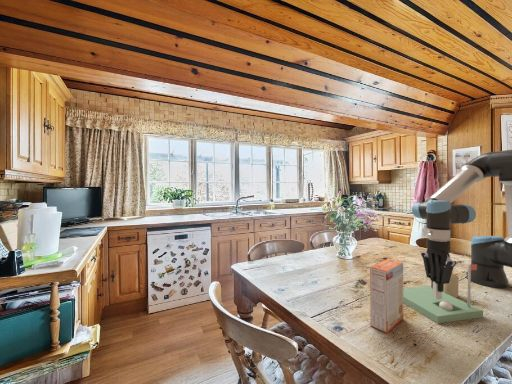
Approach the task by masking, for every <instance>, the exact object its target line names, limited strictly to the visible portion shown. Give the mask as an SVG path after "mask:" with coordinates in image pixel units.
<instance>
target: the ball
mask: <svg viewBox="0 0 512 384" xmlns="http://www.w3.org/2000/svg"><path fill="white" fill-rule="evenodd" d="M439 307H441V308H442V309H444V310H446V311H448V312H450V311H452V310H453V307H452V305H451V304H450V303H449V302H447V301H441V302H440V304H439Z"/></svg>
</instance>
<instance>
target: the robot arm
mask: <svg viewBox="0 0 512 384" xmlns="http://www.w3.org/2000/svg"><path fill="white" fill-rule="evenodd" d="M491 177H495V178H496V177H498V182H500V183H501V184H503V186H504V187H503V188H504V199H505V200H504V201H505V209H506V211H505V212H506V222H507V234H508V236H506V237H505V238H504V236H499V235H473V237H471V242H470V256H471V257H470V260H471V261H470V265H475V264H477V270H471V282H472V283H475V284H478V285H481V286H485V287H491V288H498V289H499V288H501V289H505V288H509V287H510V286H509V285H510V284H509V282H510V281H509V279H508V277H507V275H506V274H507V273H506V272H505V269H504V267H508V268H512V149H506V150H498V151H490V152H489V151H488V152H486V153H483V154H481V155H478V156H476V157H475V158H473V159H471V160H469V161H468V162H467V163H465V164H463V165H462V167H460V169H459V171H458V172H457V174H455V175H454V176H453V177H452V178H451V179H449V180H448V181H447V182H446V183H445V184H443V185H442V186H441V187H440V188H439V189H438V190H436V191H435V192H434V193H433V194H431V196H430V197H428V198H427V199H426V200H424V201H423V202H422V201H417V202H415V203H414V204H413V205H412V208H411V213H412V215H413V216H414V217H415V218H418V219H423V220H426V226H425V227H426V231H425V232H426V234H425V236H426V239H425V248H427V249H426V251H425V252H421V254H420V256H421V258H422V260H423V265H424V269H425V270H424V271H425V275H426V278H427V279H429V280H430V283H431V287H432V289H433V298H434V299H442V292H443V288H444V284H447V283H449V282H450V278H451V275H452V273H453V270H454V267H455V266H456V265H457V261H456V260H453V259H451V255H450V251H451V225H453V224H454V225H455V224H462V225H463V224H468V223H469V224H470V223H472V222H473V221H475V219H476V218H477V211H476V210H475V209H474V208H473V206H471V205H469V204H463V203H462V204H461V203H460V204H453V202H454V201H455V200H456V199H458V198H459V197H460V196H461V195H462V194H464V193H465V192H466V191H467V190H468V189H469V188H470V187H472V185H474V184H475V183H478V182H481V181H482V180H483V179H485V178H491ZM466 279H467V280H468V270H467V271H466Z"/></svg>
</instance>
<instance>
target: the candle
mask: <svg viewBox="0 0 512 384" xmlns="http://www.w3.org/2000/svg"><path fill="white" fill-rule="evenodd" d="M443 292H444V293H446V294H448V295H450V296H452V297H455V298H458V297H459V276H458V275H457V274H456V273H455V272H452V275H451V278H450V282H449V283H447V284H444V288H443Z"/></svg>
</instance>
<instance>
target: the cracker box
mask: <svg viewBox="0 0 512 384" xmlns="http://www.w3.org/2000/svg"><path fill="white" fill-rule="evenodd" d="M369 285H370V287H369V291H370V292H369V294H370V298H369V299H370V300H369V301H370V303H369V304H370V308H369V309H370V326H371V327H372V328H375V329H377V330H379V331H381V332H384V333H386V334H388V333H389V332H390V331H392V329H394V328H395V327H396V325H398V324H399V323H400V322H401V321H402V320H403V319H404V303H403V288H404V262H403V261H398V260H394V259H390V258H386V259H385V260H383V261H380V262H378V263H377V264H374V265H372V266H369Z"/></svg>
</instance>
